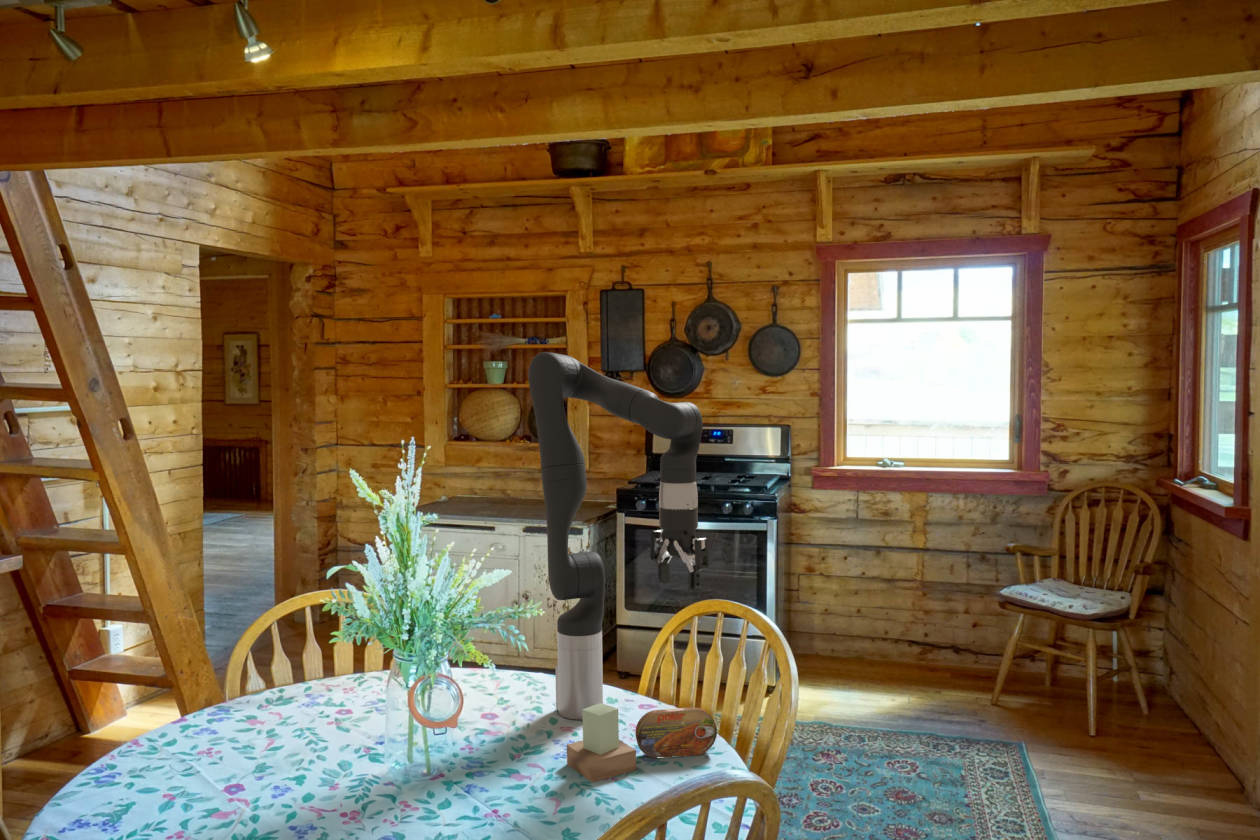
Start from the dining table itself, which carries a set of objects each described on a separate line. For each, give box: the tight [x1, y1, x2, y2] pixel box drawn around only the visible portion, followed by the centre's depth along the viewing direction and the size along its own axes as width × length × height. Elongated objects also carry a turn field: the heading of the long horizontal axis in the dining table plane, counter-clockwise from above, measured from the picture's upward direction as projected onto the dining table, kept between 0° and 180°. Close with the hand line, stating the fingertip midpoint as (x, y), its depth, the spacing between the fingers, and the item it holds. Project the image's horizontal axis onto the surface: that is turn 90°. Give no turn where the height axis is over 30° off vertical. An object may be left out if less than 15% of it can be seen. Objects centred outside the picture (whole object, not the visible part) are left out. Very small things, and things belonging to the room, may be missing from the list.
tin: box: [635, 706, 718, 759], centre depth 175 cm, size 15×3×8 cm, turn 99°
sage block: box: [582, 702, 620, 755], centre depth 169 cm, size 4×4×7 cm
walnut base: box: [566, 739, 637, 783], centre depth 170 cm, size 9×9×4 cm
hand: (679, 586), depth 186 cm, fingers open, 8 cm apart
